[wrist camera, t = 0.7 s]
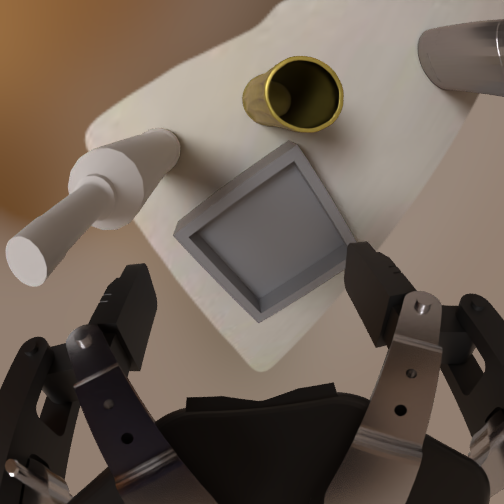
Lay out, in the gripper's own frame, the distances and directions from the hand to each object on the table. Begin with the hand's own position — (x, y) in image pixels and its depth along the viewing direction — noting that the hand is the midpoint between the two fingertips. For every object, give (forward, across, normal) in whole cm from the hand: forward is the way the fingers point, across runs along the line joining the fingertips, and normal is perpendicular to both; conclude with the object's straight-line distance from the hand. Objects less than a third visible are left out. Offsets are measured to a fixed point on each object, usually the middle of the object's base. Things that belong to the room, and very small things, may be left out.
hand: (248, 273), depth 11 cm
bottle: (+23, +8, -2) cm, 25 cm away
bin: (+23, -3, +9) cm, 25 cm away
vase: (+23, -4, -7) cm, 25 cm away
